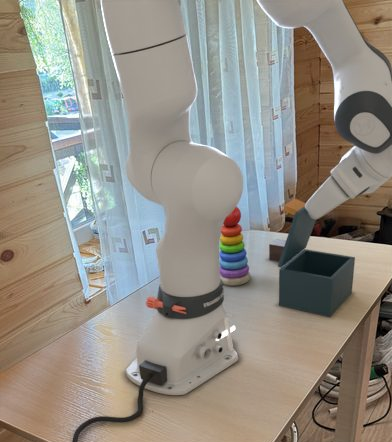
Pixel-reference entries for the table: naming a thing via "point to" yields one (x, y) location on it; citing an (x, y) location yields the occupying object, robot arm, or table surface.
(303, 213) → the lid
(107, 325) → the table surface
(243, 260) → the stacking toy
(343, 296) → the dark teal box
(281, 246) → the block
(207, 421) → the table surface
